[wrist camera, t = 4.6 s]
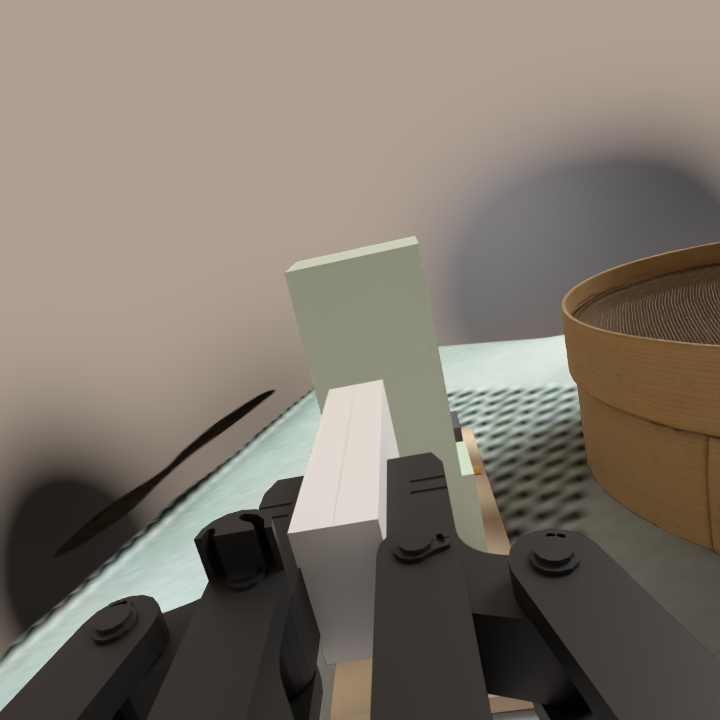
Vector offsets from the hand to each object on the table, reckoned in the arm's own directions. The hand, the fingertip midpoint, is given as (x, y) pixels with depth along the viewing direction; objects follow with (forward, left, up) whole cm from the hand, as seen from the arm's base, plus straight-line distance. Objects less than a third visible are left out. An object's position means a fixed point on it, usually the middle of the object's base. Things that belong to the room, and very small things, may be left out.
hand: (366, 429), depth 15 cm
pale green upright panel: (-2, -7, -12) cm, 14 cm away
